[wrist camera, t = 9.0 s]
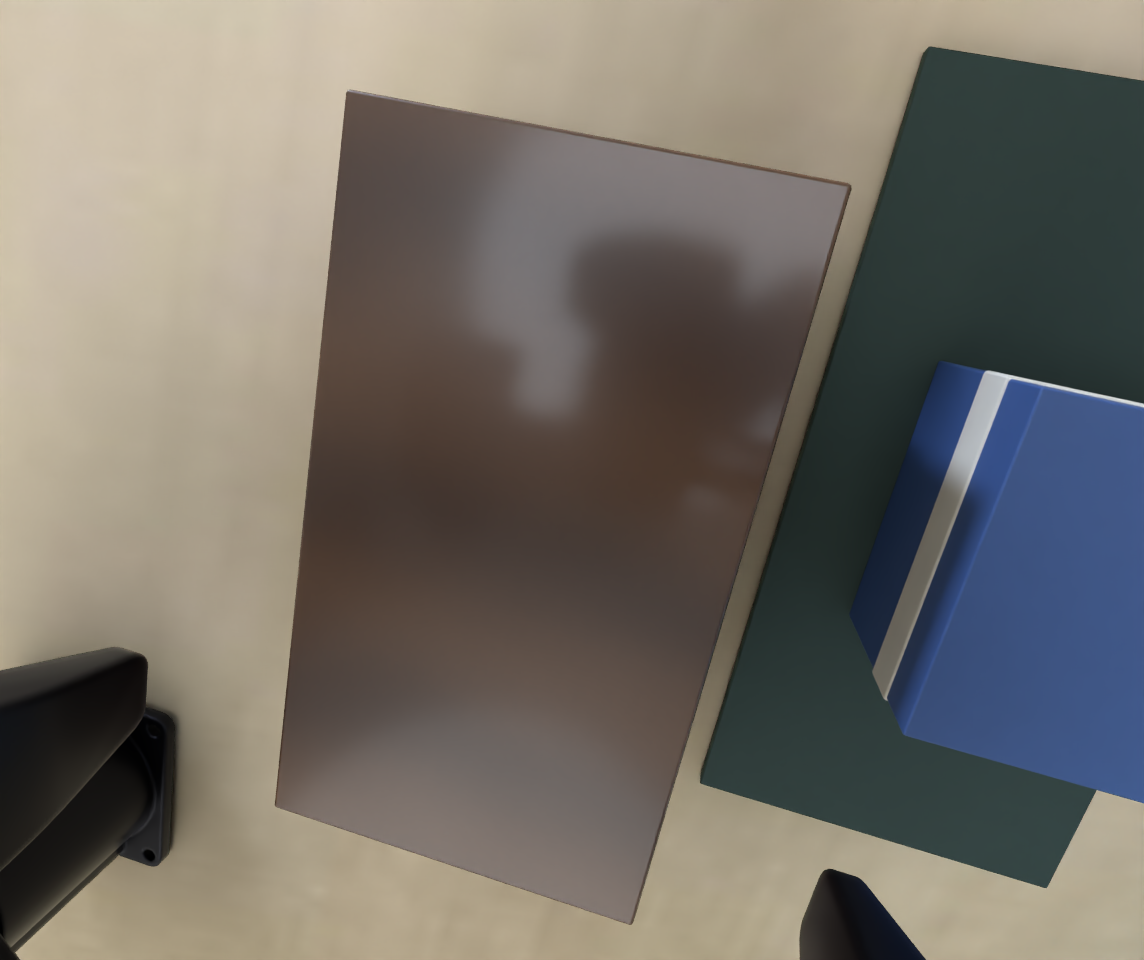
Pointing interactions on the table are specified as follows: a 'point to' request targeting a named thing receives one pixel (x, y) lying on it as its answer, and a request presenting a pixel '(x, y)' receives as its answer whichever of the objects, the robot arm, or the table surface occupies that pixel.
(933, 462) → the box
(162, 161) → the table surface
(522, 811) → the shelf
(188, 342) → the table surface
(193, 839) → the table surface
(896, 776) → the mat
